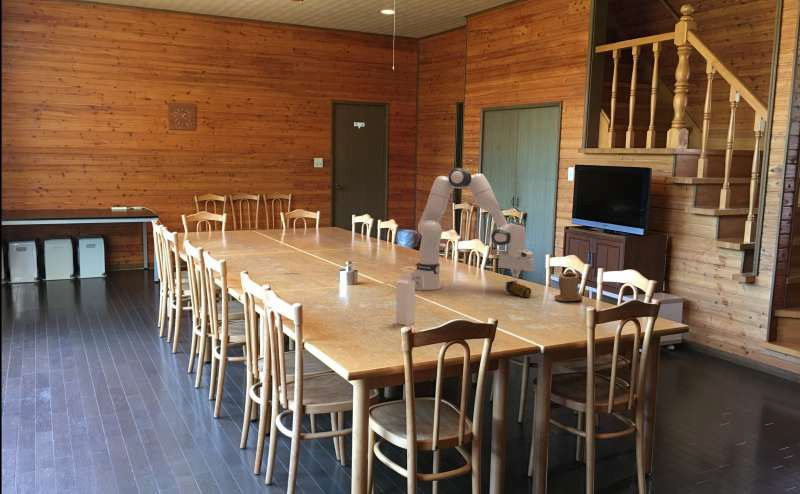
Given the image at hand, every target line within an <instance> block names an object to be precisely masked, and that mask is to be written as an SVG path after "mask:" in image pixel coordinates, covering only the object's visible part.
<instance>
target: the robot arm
mask: <svg viewBox="0 0 800 494" xmlns="http://www.w3.org/2000/svg"><path fill="white" fill-rule="evenodd" d="M465 188H468V189H469V191H470V192H471V196H472V197H473V201H475V203H476V205H477V206H478V208H480V209H482V210H484V211H485V212H487V213H488V214H490V216H491V217H492V220H493V221H494V223H495V226H496V228H495V229H493V230H492V232H491V236H490V238H491V241H492V243H493V244H495V245H496V246H504V245H507V246H508V247H507V248H508V249H507V250H501V251H499V253H498V262H497V263H498V264H497V265H498V268H501V269H509V270H510V273H511V275H512V278H516V279H517V278H519V277H520V273H521V271H524V272H525V271H527V272H533V271H534V270H535V259H534V257H533V256H534V252H532V251H530V250H528V249H526V247H525V246H526V245H525V241H526V227H525V226H524V224H523V223H521V222H517V221H511V222H510V223H509V222H508V220H507V218H506V216H505V214H504V213H503V210H502V209H501V206H500V204H499V203H498V200H497V199H496V198H497V197H496V195H495V192H494V191H493V189H492V186H491V184H490V182H489V181H488V179H487V177H486V176H485V175H484V174H483V173H479V172H476V173H475V174H471V173H470V172H469V171H468V170H466V169H465V168H462V167H454V168H453V169H452V170H450V171H449V173H448V176H447V175H446V176H445V175H439V176H437V177H436V178H435V179H434V182H433V184H432V186H431V189H430V193H429V195H428V198H427V202H426V204H425V207H424V210H423V213H422V214H421V217H420V220H419V222H418V225H417V231H418V233H419V235H421V240H420V247H419V255H418V256H419V259H418V263H417V262H416V263H415V267H416V269H414V270H413V271H412V272H410V273H409V274H408V275H410V276H411V279H412V280H413V281H415V290H418V291H431V290H434V291H436V290H440V289H441V288H442V286H441V281H440V260H439V259H440V246H441V240H442V234H443V228H442V226H441V225H442V224H440V222H441V220H442V218H443V216H444V214H445V213H446V209H447V206H448V203H449V200H450V195H451V193H452V191H453V190H454V189H460V190H461V189H465ZM515 270H516V273H515Z"/></svg>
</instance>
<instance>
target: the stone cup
mask: <svg viewBox="0 0 800 494" xmlns="http://www.w3.org/2000/svg"><path fill="white" fill-rule="evenodd" d="M579 284H580V277H579V274H578V273H576V272H572V271H567V272H564V273H560V274H559V276H558V288H559V291H560V292H559V294H556V295H554V299H555V300H556V301H558V302H575V301H576V302H578V301H583V300H584V298H583V295H582V293H580V292H579V293H578V292H577V291H578V288H579V287H578V286H579Z"/></svg>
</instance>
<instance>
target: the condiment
mask: <svg viewBox="0 0 800 494" xmlns="http://www.w3.org/2000/svg"><path fill="white" fill-rule="evenodd" d="M504 290H505V291H504V295H505V296H506V295H507V296H508V295H512V294H513V295H516V296H519V297H521V298H529V297H531V294H532V289H531V288H530V287H528V286H526V285H523V284H521V283H518V280H510V281H506V282H505V289H504Z"/></svg>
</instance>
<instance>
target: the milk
mask: <svg viewBox="0 0 800 494" xmlns="http://www.w3.org/2000/svg"><path fill="white" fill-rule="evenodd" d="M415 294H416V289H415V281H413V280H412V279H411V276H410V275H409V274H403V273H401V274H400V278H398V280H397V281H396V295H395V296H396V298H395V300H396V306H395V310H396V313H395V323H396V324H397V323H399V325H402V324H404V325H403V326H409V325H412V324H415V306H416V305H415V303H416V295H415Z"/></svg>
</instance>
